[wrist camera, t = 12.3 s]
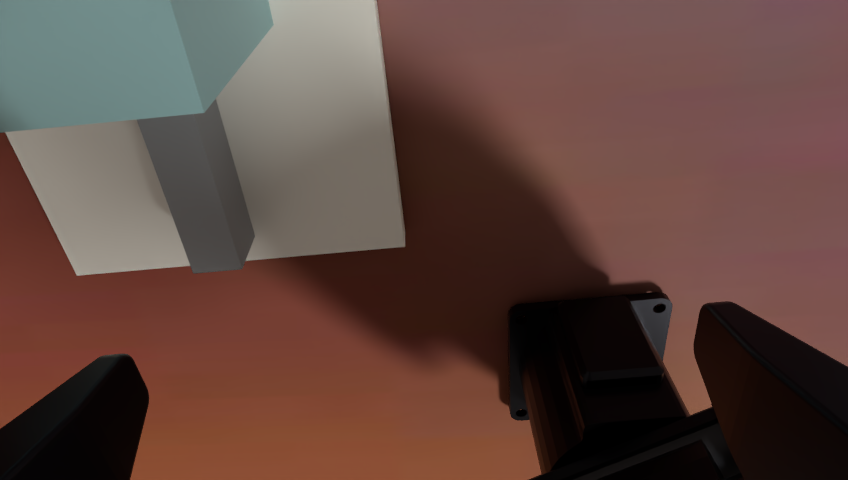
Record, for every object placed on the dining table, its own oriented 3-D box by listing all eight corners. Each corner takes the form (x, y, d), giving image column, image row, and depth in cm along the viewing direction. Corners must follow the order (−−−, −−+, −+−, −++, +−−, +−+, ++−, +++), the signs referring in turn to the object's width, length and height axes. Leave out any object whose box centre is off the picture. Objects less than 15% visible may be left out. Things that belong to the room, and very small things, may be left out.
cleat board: (405, 231, 22) (405, 299, 19) (89, 259, 22) (33, 330, 19) (315, -496, 12) (282, -627, 9) (-241, -430, 13) (-474, -532, 9)
